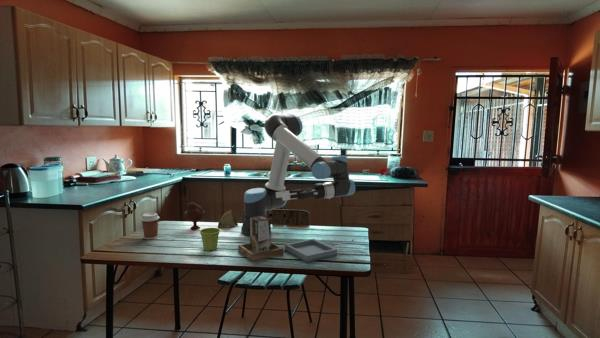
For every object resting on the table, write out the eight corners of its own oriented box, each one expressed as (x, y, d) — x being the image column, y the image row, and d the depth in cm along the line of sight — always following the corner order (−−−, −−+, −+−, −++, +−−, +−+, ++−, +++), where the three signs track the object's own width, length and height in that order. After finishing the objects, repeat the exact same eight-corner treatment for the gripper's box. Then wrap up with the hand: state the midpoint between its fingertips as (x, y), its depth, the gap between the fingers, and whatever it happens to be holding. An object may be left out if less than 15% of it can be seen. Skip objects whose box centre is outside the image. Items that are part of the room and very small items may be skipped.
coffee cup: (139, 236, 186) (138, 213, 184) (157, 233, 191) (156, 211, 190) (143, 241, 178) (142, 217, 177) (162, 237, 184) (161, 214, 183)
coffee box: (271, 255, 160) (271, 219, 158) (258, 257, 157) (257, 221, 155) (262, 249, 168) (262, 215, 166) (249, 251, 164) (249, 216, 163)
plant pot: (224, 246, 171) (224, 228, 170) (213, 253, 162) (213, 234, 161) (207, 244, 174) (207, 226, 173) (195, 250, 165) (195, 232, 164)
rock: (213, 224, 201) (228, 223, 198) (216, 210, 206) (231, 209, 202) (222, 231, 210) (237, 231, 207) (225, 218, 214) (240, 217, 211)
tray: (285, 250, 166) (285, 244, 165) (313, 244, 174) (313, 238, 174) (306, 263, 151) (306, 256, 150) (336, 255, 159) (337, 249, 159)
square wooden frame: (238, 251, 164) (238, 244, 164) (267, 245, 172) (267, 239, 172) (252, 261, 152) (252, 254, 152) (283, 255, 160) (283, 248, 160)
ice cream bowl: (199, 231, 195) (199, 204, 193) (181, 230, 197) (180, 203, 195) (208, 226, 205) (208, 200, 203) (190, 225, 207) (189, 199, 206)
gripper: (333, 201, 158) (286, 207, 152) (315, 196, 182) (274, 201, 176) (331, 184, 157) (284, 189, 152) (313, 181, 181) (272, 186, 176)
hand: (279, 196), depth 164 cm, fingers open, 13 cm apart
